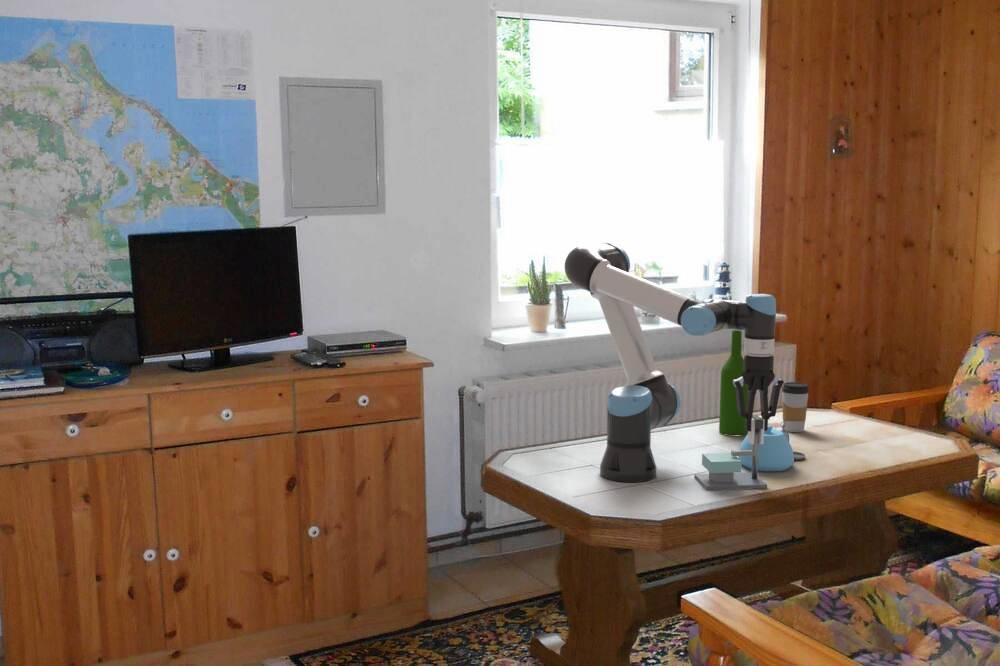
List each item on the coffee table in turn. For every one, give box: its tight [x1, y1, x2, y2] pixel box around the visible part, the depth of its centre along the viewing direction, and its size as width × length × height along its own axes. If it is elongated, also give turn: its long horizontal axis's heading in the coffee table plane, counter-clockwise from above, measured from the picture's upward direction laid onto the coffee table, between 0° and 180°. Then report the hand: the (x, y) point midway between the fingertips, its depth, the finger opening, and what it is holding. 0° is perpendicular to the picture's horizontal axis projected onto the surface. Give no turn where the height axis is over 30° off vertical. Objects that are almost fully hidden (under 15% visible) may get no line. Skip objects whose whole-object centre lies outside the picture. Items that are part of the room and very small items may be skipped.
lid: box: [701, 452, 743, 473], centre depth 256 cm, size 8×8×3 cm
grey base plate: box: [694, 471, 768, 491], centre depth 257 cm, size 16×11×4 cm
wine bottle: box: [718, 329, 748, 436], centre depth 308 cm, size 9×9×32 cm
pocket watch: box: [780, 421, 806, 461], centre depth 281 cm, size 8×8×10 cm
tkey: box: [730, 414, 763, 479], centre depth 256 cm, size 7×5×16 cm
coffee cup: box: [781, 381, 810, 433], centre depth 312 cm, size 8×8×15 cm
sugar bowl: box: [737, 424, 795, 472], centre depth 273 cm, size 15×15×12 cm
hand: (755, 442), depth 256 cm, fingers closed on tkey, 2 cm apart
